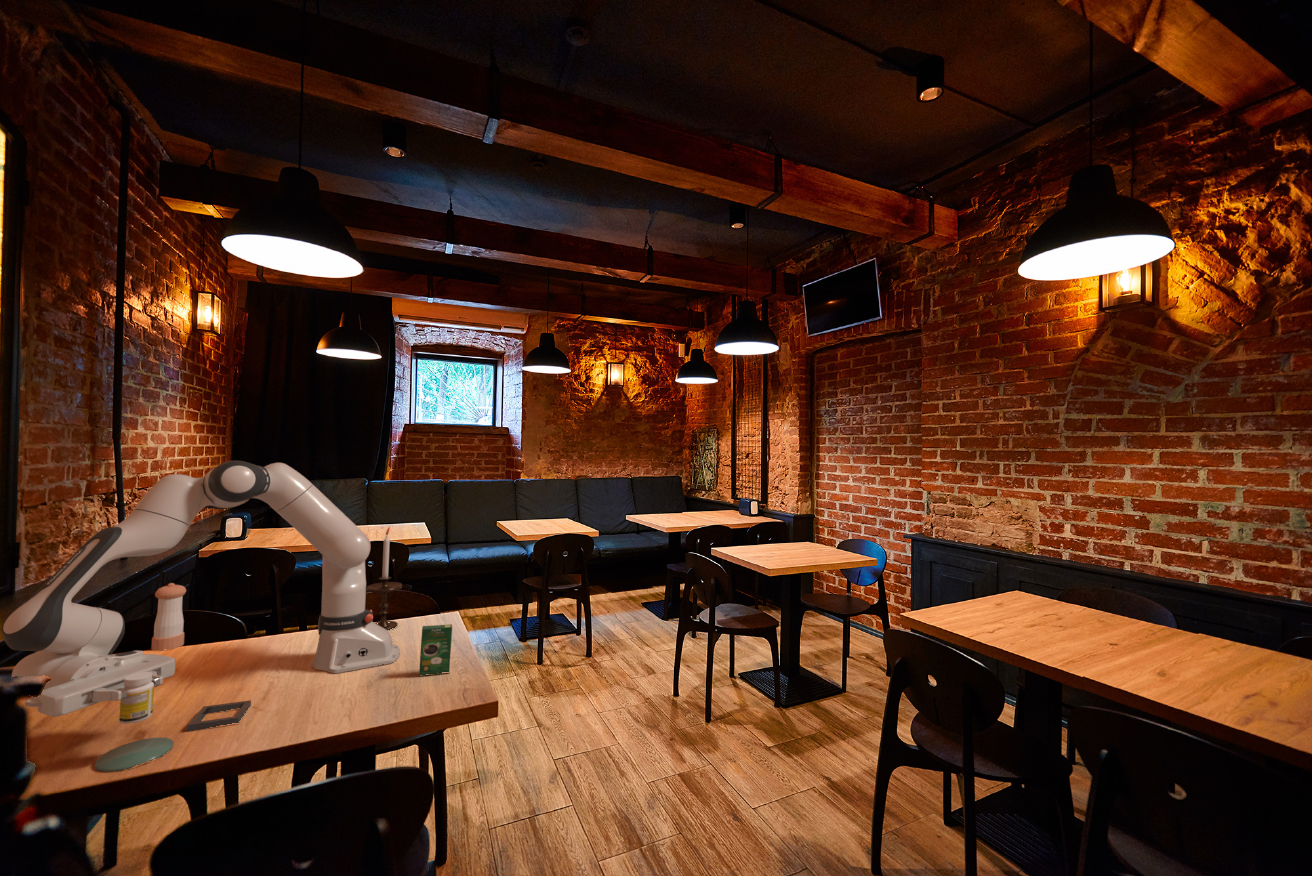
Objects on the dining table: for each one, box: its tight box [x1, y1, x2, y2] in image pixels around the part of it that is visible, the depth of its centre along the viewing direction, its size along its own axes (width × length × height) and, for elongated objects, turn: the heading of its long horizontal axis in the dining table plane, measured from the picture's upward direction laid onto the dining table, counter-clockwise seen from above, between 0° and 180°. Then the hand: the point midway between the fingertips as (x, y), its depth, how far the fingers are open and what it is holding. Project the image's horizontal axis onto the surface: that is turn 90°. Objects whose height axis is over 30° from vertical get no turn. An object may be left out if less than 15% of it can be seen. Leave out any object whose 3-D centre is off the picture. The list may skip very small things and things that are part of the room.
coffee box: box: [418, 623, 453, 677], centre depth 146 cm, size 8×3×13 cm, turn 110°
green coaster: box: [94, 736, 174, 773], centre depth 104 cm, size 11×11×1 cm
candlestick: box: [366, 526, 403, 631], centre depth 183 cm, size 11×11×35 cm
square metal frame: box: [186, 699, 252, 733], centre depth 119 cm, size 9×9×1 cm
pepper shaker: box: [150, 582, 187, 652], centre depth 161 cm, size 7×7×19 cm
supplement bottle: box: [118, 672, 155, 725], centre depth 105 cm, size 5×5×8 cm
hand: (141, 688), depth 105 cm, fingers closed on supplement bottle, 5 cm apart
